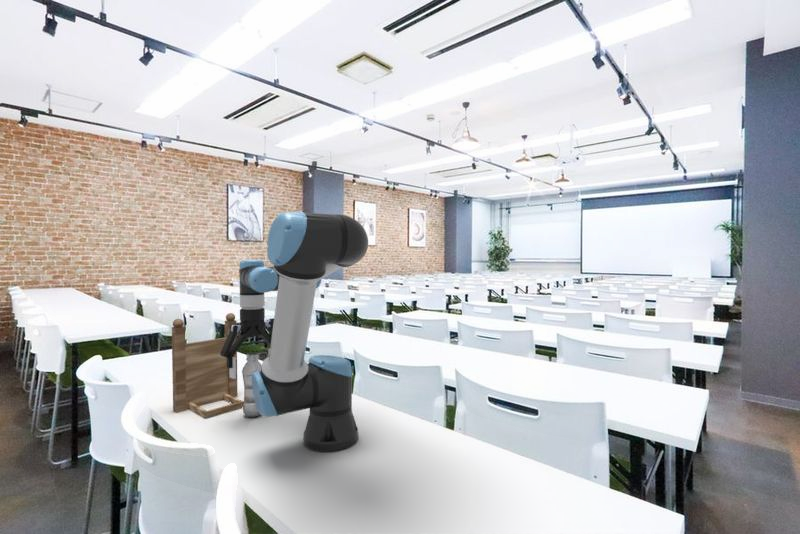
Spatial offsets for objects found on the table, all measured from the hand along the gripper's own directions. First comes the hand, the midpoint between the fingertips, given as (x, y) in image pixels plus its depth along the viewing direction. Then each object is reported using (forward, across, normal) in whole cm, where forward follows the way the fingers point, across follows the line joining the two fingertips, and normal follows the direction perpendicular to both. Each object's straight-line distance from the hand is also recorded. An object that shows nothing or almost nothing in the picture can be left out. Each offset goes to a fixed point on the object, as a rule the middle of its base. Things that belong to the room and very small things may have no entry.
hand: (253, 373), depth 133 cm
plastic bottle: (+14, 0, 0) cm, 14 cm away
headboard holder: (+14, +5, -16) cm, 22 cm away
